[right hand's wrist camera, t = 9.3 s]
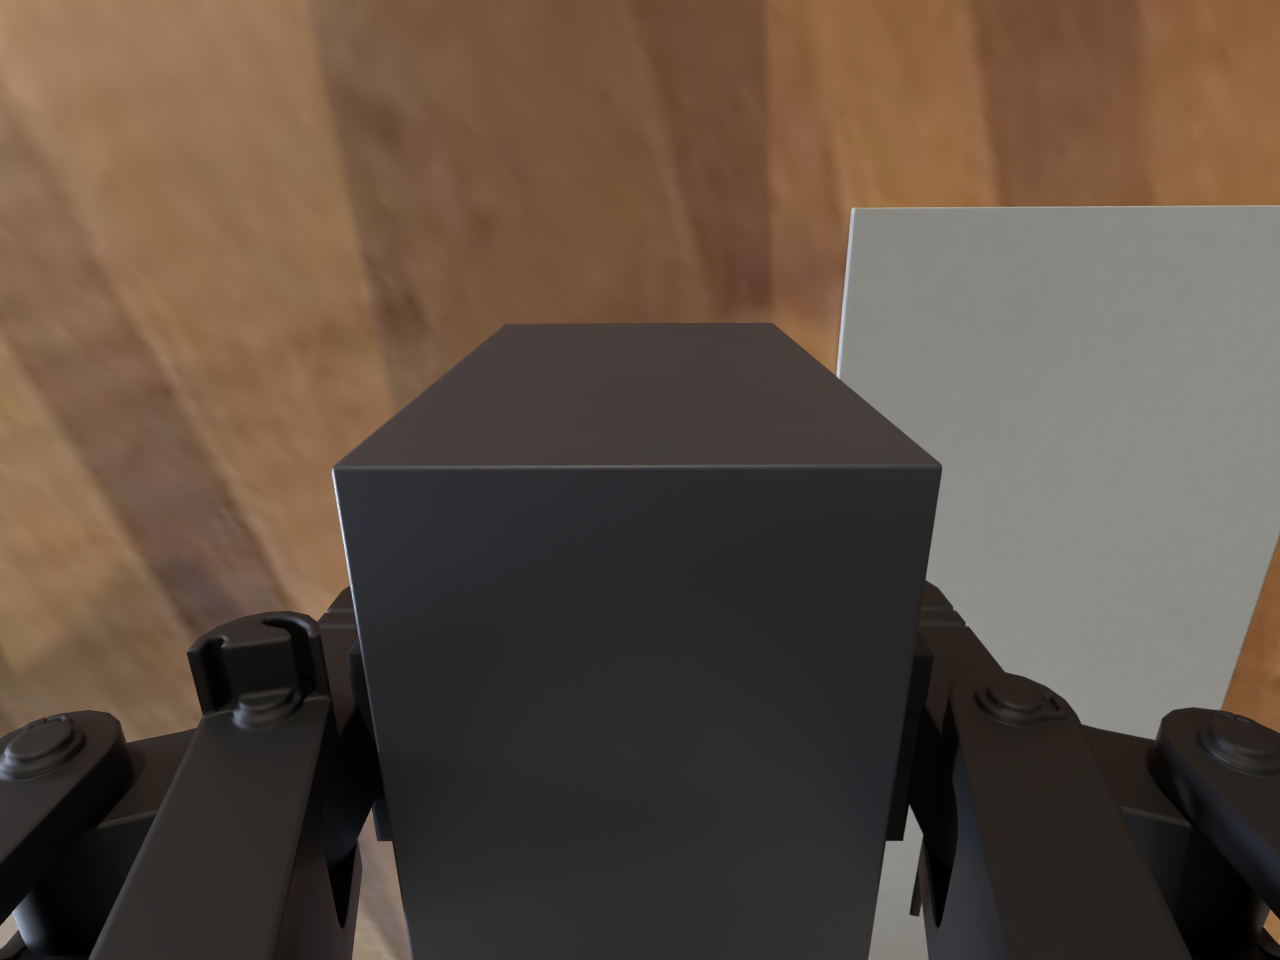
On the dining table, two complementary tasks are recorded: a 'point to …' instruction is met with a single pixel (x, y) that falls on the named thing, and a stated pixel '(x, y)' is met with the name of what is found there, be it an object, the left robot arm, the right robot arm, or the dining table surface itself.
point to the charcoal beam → (638, 644)
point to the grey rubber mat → (1080, 445)
